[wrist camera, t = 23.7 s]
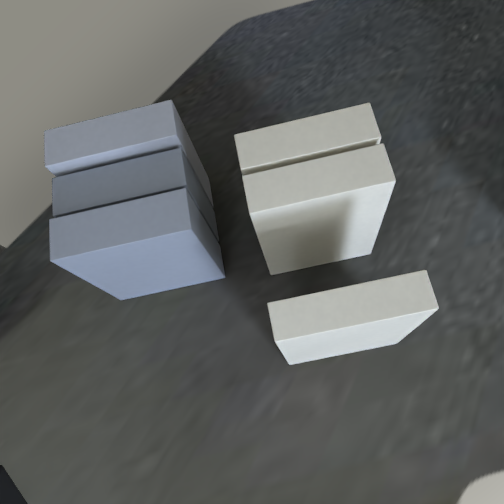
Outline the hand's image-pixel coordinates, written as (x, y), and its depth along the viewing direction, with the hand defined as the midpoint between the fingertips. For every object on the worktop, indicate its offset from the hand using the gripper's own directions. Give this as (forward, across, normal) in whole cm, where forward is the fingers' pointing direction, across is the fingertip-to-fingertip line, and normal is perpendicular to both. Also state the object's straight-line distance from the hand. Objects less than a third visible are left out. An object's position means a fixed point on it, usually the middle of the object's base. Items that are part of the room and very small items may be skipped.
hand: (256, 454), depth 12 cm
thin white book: (+26, +5, -17) cm, 31 cm away
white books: (+33, +5, -9) cm, 35 cm away
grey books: (+35, -10, -7) cm, 37 cm away
